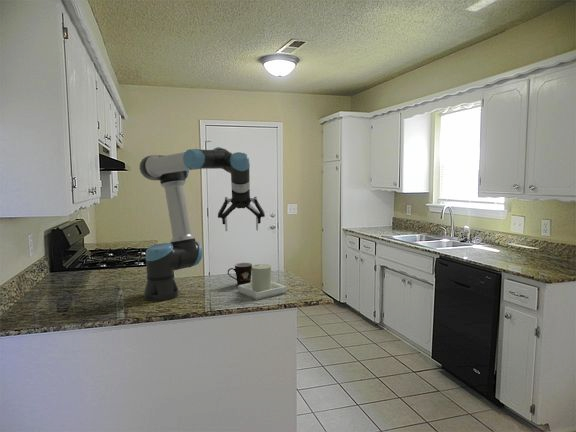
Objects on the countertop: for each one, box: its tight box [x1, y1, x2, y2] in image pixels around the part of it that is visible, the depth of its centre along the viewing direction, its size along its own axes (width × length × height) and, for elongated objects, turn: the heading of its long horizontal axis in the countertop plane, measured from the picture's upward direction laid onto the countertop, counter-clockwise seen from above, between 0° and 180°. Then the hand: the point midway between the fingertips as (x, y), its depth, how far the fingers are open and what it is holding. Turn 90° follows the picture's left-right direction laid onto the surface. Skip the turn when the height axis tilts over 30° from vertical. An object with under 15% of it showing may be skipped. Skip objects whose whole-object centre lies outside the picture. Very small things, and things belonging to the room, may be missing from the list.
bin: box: [237, 280, 287, 301], centre depth 189 cm, size 16×16×3 cm
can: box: [251, 263, 272, 292], centre depth 188 cm, size 9×9×12 cm
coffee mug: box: [227, 262, 253, 286], centre depth 202 cm, size 12×9×10 cm
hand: (241, 229), depth 182 cm, fingers open, 13 cm apart
